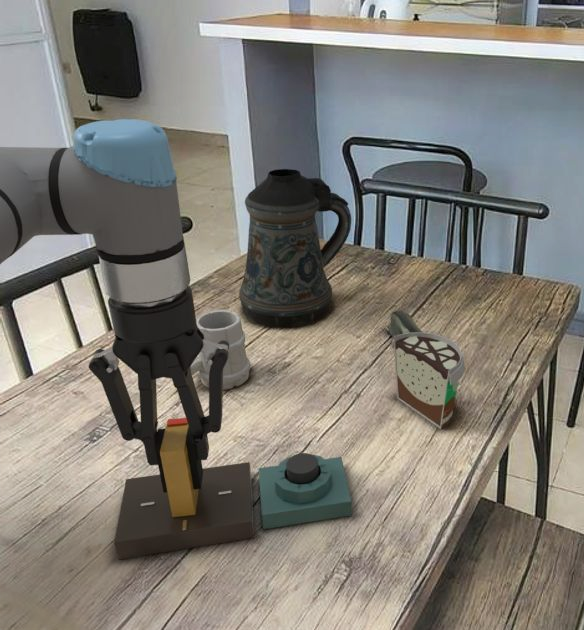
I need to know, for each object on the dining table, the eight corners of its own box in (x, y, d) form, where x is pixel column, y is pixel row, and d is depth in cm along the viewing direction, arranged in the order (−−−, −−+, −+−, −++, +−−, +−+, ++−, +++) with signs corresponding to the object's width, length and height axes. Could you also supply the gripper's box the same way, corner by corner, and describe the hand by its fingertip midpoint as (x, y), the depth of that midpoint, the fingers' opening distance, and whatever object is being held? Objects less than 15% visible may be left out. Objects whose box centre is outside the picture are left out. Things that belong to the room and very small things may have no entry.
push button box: (263, 529, 76) (260, 502, 74) (260, 482, 83) (257, 456, 81) (351, 515, 78) (351, 488, 76) (341, 470, 85) (340, 444, 83)
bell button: (288, 487, 77) (287, 475, 76) (286, 466, 80) (285, 455, 79) (320, 482, 78) (319, 470, 77) (316, 462, 81) (316, 450, 80)
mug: (260, 380, 103) (252, 309, 97) (182, 406, 96) (170, 332, 91) (239, 358, 108) (231, 290, 102) (164, 382, 102) (151, 310, 96)
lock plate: (118, 559, 72) (113, 541, 70) (129, 495, 80) (125, 477, 79) (254, 537, 75) (252, 519, 74) (251, 477, 83) (249, 460, 82)
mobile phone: (440, 343, 104) (398, 301, 116) (422, 348, 103) (381, 304, 114) (438, 371, 106) (397, 327, 118) (421, 375, 105) (381, 330, 117)
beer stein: (222, 307, 123) (205, 171, 112) (306, 276, 136) (299, 151, 125) (279, 339, 114) (267, 194, 102) (363, 302, 126) (361, 170, 115)
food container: (480, 417, 96) (485, 356, 91) (448, 434, 92) (451, 371, 87) (422, 379, 104) (424, 322, 99) (390, 394, 100) (391, 335, 96)
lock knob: (195, 515, 74) (183, 447, 70) (172, 517, 74) (159, 450, 70) (200, 481, 79) (189, 416, 75) (178, 483, 79) (166, 418, 74)
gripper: (236, 270, 69) (256, 453, 80) (72, 278, 66) (116, 467, 77) (231, 303, 62) (254, 498, 73) (49, 314, 60) (101, 514, 71)
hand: (183, 482), depth 75 cm, fingers closed on lock knob, 2 cm apart
